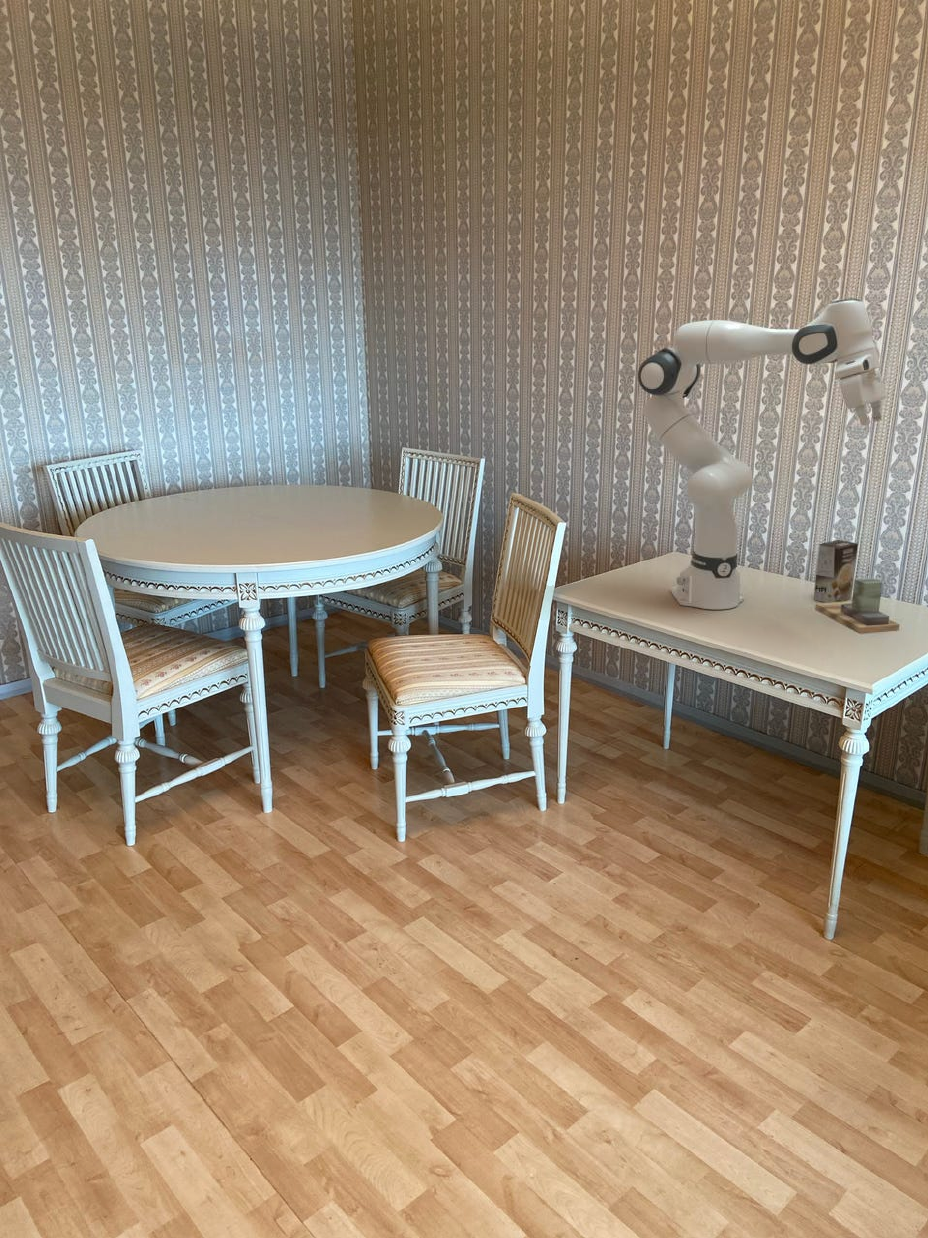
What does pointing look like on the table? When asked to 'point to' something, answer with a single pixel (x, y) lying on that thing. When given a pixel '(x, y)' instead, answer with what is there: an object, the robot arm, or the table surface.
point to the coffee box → (835, 571)
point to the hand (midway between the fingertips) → (872, 422)
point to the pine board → (834, 612)
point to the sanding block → (866, 602)
